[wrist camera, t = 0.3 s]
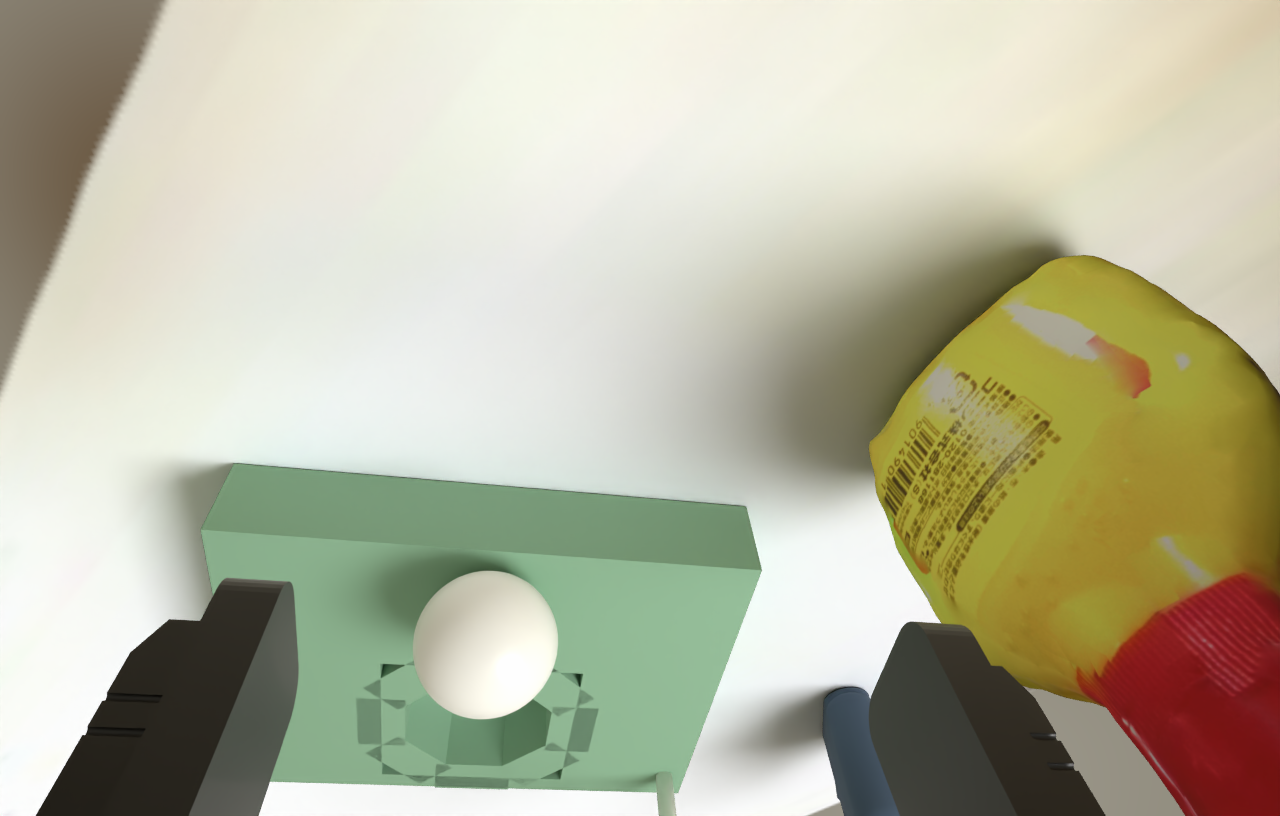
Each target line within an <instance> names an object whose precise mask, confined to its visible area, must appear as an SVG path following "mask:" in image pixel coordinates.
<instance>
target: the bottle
mask: <svg viewBox="0 0 1280 816" xmlns="http://www.w3.org/2000/svg"><path fill="white" fill-rule="evenodd" d="M869 453H870V458H871V462H872V466H873V470H874V475H875V486H876V493H877V496H878V498H879V501H880V503H881V505H882V507H883V509H884V511H885V513H886V515H887V518H888V521H889V524H890V527H891V531H892V534H893V537H894V541H895V544H896V548H897V550H898V552H899V554H900V555H901V557H902V559H903V560H904V562H905V564H906V566H907V567H908V569H909V571H910V572H911V574H912V575H913V577H914V579H915V580H916V582H917V583H918V585H919V586H920V588H921V589H922V591H923V593H924V594H925V596H926V597H927V599H928V601H929V603H930V605H931V607H932V609H933V611H934V613H935V614H936V616H937V617H938V619H939V620H940V622H941V623H942V624H957V625H963V626H966V627H967V628H968V629H969V630H970V631H971V632H972V633H973V635H974V636H975V638H976V640H977V641H978V643H979V645H980V647H981V648H982V650H983V652H984V654H985V655H986V657H987V659H988V661H989V662H990V664H991V666H1002V667H1003V668H1004V669H1006V670H1007V671H1008V672H1009V673H1010V674H1011V675H1012V676H1013V677H1014V678H1015V679H1016V680H1017V681H1018V682H1019V683H1020V684H1021V685H1022V686H1025V687H1028V688H1033V689H1043V690H1045V691H1048V692H1051V693H1054V694H1056V695H1059V696H1063V697H1066V698H1070V699H1075V700H1079V701H1085V702H1090V703H1094V704H1097V705H1100V706H1103V707H1106V708H1107V709H1108V710H1109V712H1110V713H1111V715H1112V716H1113V717H1114V719H1115V721H1116V722H1117V723H1118V724H1119V725H1120V727H1121V728H1122V729H1123V730H1124V732H1125V733H1126V734H1127V736H1128V737H1129V738H1130V739H1131V740H1132V742H1133V743H1134V744H1135V746H1136V747H1137V748H1138V749H1139V751H1140V752H1141V753H1142V755H1143V756H1144V757H1145V758H1146V760H1147V761H1148V762H1149V764H1150V765H1151V766H1152V768H1153V769H1154V770H1155V772H1156V773H1157V775H1158V776H1159V777H1160V779H1161V780H1162V782H1163V783H1164V785H1165V786H1166V787H1167V789H1168V790H1169V792H1170V793H1171V795H1172V796H1173V797H1174V799H1175V800H1176V802H1177V803H1178V805H1179V806H1180V808H1181V809H1182V811H1183V813H1184V814H1185V816H1280V394H1279V393H1278V391H1277V390H1276V388H1275V387H1274V386H1273V385H1272V383H1271V382H1270V380H1269V379H1268V377H1267V376H1266V374H1265V372H1264V371H1263V370H1262V369H1261V368H1260V367H1259V365H1258V364H1257V363H1256V362H1255V361H1254V360H1253V359H1252V358H1251V357H1250V356H1249V355H1248V354H1247V353H1246V352H1245V351H1244V350H1243V349H1242V348H1241V347H1240V346H1239V345H1238V344H1237V343H1236V342H1235V341H1234V340H1232V339H1231V338H1230V337H1229V336H1228V335H1227V334H1226V333H1224V332H1223V331H1222V330H1221V329H1219V328H1218V327H1217V326H1216V325H1214V324H1213V323H1211V322H1210V321H1208V320H1207V319H1205V318H1203V317H1202V316H1200V315H1198V314H1196V313H1194V312H1193V311H1192V310H1190V309H1189V308H1188V307H1186V306H1185V305H1184V304H1182V303H1181V302H1179V301H1178V300H1177V299H1175V298H1174V297H1173V296H1171V295H1170V294H1168V293H1167V292H1166V291H1164V290H1163V289H1161V288H1160V287H1158V286H1156V285H1154V284H1152V283H1150V282H1148V281H1147V280H1146V279H1144V278H1143V277H1141V276H1139V275H1138V274H1136V273H1134V272H1132V271H1131V270H1128V269H1125V268H1122V267H1120V266H1117V265H1115V264H1113V263H1111V262H1109V261H1106V260H1104V259H1102V258H1099V257H1095V256H1087V255H1081V256H1069V257H1062V258H1058V259H1055V260H1052V261H1050V262H1048V263H1046V264H1044V265H1042V266H1041V267H1040V268H1039V269H1038V270H1037V271H1036V272H1035V273H1034V274H1032V275H1031V276H1030V277H1029V278H1028V279H1026V280H1024V281H1023V282H1021V283H1019V284H1017V285H1016V286H1014V287H1013V288H1011V289H1010V290H1009V291H1008V292H1007V293H1006V294H1004V295H1003V296H1002V297H1001V298H1000V299H999V300H998V301H996V302H995V303H994V304H993V305H992V306H991V307H990V308H989V309H988V310H987V311H985V312H984V313H983V314H982V315H981V316H979V317H978V318H977V319H976V320H974V321H973V322H972V323H971V324H969V325H968V326H967V327H966V328H965V329H963V330H962V331H961V332H960V333H959V334H958V335H957V336H956V337H955V338H954V339H953V340H952V341H951V342H950V343H949V344H948V345H947V346H946V347H945V348H944V349H943V350H942V351H941V352H940V353H939V354H938V355H937V356H936V357H935V358H934V359H933V361H932V362H931V363H930V364H929V365H928V366H927V367H926V368H925V369H924V370H923V372H922V373H921V374H920V375H919V376H918V377H917V378H916V379H915V380H914V382H913V383H912V384H911V385H910V386H909V388H908V389H907V390H906V392H905V393H904V395H903V396H902V398H901V400H900V401H899V403H898V405H897V407H896V409H895V410H894V412H893V414H892V416H891V417H890V419H889V420H888V422H887V423H886V425H885V426H884V428H883V429H882V431H881V432H880V433H879V434H878V435H877V436H876V437H875V438H873V439H872V440H871V441H870V444H869Z"/></svg>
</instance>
